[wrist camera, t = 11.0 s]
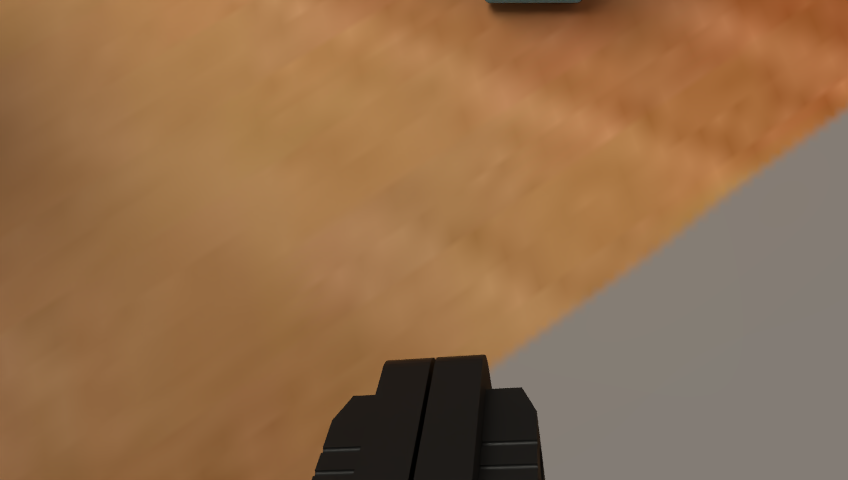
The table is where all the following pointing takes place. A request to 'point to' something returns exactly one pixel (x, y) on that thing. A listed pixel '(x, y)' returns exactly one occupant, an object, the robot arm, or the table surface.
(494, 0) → the data package
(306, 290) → the table surface
